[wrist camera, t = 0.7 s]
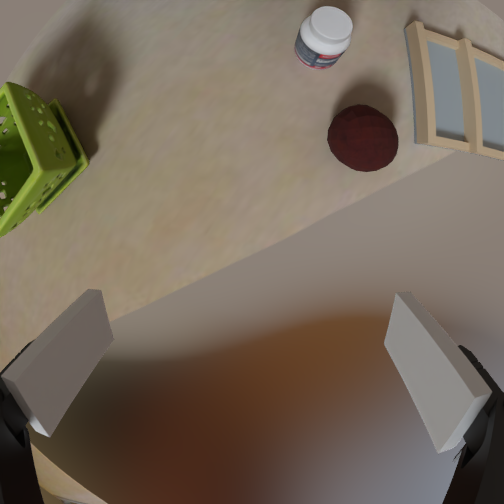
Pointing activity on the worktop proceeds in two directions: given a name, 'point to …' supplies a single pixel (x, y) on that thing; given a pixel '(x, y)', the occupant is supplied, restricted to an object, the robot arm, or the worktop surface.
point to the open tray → (455, 93)
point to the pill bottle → (323, 37)
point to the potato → (363, 138)
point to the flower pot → (34, 154)
